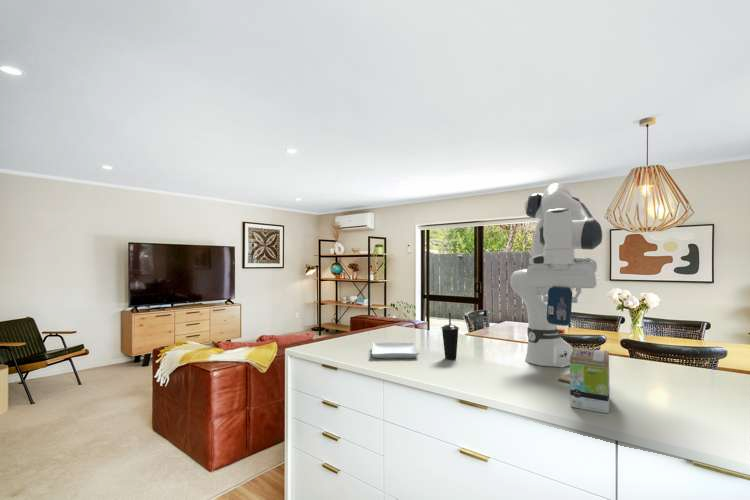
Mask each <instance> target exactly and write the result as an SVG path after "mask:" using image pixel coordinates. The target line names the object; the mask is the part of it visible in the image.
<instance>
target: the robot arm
mask: <svg viewBox="0 0 750 500" xmlns="http://www.w3.org/2000/svg"><path fill="white" fill-rule="evenodd" d="M524 211H525V215H526V216H527V217H530V218H534V219H535V218H536V219H539V220H538V221H537V223H536V225H535V228H534V232H533V237H532V243H531V251H530V255H531V256H530V258H529V260H528V263H529V264H530V265H529V266H528V267H527V268H524V269H519V270H515V271H513V273H512V274H511V276H510V279H509V282H510V283H509V284H510V287H511V289H512V291H513V292H515V293H516V294H517V295H518V296H519V297H520V298H521V300H522V301H523V303H524V304H525V308H526V312H527V323H528V326H527V329H526V332H527V338H528V339H527V349H526V354H525V362H527V363H529V364H532V365H536V366H544V367H555V368H564V367H568V366H570V356H571V354H572V352H573V349H574V347H573V346H572V345H571V344H570V343H568V342H567V341H566V340H564V339H563V338H562V337H561V335H565V334H566V330H565V329H562V328H559V329H558V325H553V324H549V323H548V321H547V303H548V290H549V289H550V288H552V287H553V286H556V287H569V288H570V289H571V291H572V292H573V291H574V290H575V292H576V294H575V295H574V296H572V304H573V303H574V304H576V303H577V304H578V301H579V300H578V298H579V297H580V295H581V293H582V289H595V288H596V286H597V277H596V272H597V269H598V267H597V262H596V261H595V260H594V259H592V258H587V257H586V258H575V250H577V249H578V250H595V248H597V247H598V246H599V245H600V244H601V243H602V241H603V237H604V236H603V234H604V232H603V229H602V226H601V224H600V223H599V221H598V220H596V219H595V218H594V217H593V215H592V213H591V212H590V211H589V209H588V208H587V206H586V205H585V203H583V202H581V200H580V199H579V198H578V197H575V196H572V193H571V192H570V189H569V188H568V187H567V186H566V185H565V184H562V183H557V182H556V183H552V184H550V185H548V186H547V187H546V188H545V190H543V193H539V192H537V193H532V194H530V195H529V196H528V198H527V199H526V200H525V203H524Z"/></svg>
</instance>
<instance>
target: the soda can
mask: <svg viewBox="0 0 750 500" xmlns="http://www.w3.org/2000/svg"><path fill="white" fill-rule="evenodd" d="M547 296H548V302H546V303H547V321H548V323H549V324H553V325H557V326H561V327H567V326H569V325H570V324H571V321H572V308H573V307H572V306H573V305H572V304H573V303H572V297H573V291H571V289H570V288H569V287H556V286H553V287H552V288H550V289H549V290H548V295H547Z"/></svg>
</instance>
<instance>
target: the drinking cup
mask: <svg viewBox="0 0 750 500" xmlns="http://www.w3.org/2000/svg"><path fill="white" fill-rule="evenodd" d="M451 316H452V314H451V313H450V312H449V313H448V323H449V324H445V325H444V326H441V331H442V341H443V349H444V358H445V360H450V361H454V360H457V355H458V354H457V352H458V337H459V336H458V335H459V330H460V327H459V326H456V325H455V324H452V319H451Z"/></svg>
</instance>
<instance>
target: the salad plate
mask: <svg viewBox="0 0 750 500" xmlns="http://www.w3.org/2000/svg"><path fill="white" fill-rule="evenodd" d="M371 349H372V350H371V355H372V356H373V357H374V358H376V359H411V358H412V359H413V358H417V356H419V354H420V351H419V349H418V346H417V344H416V343H415V342H372V348H371Z"/></svg>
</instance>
